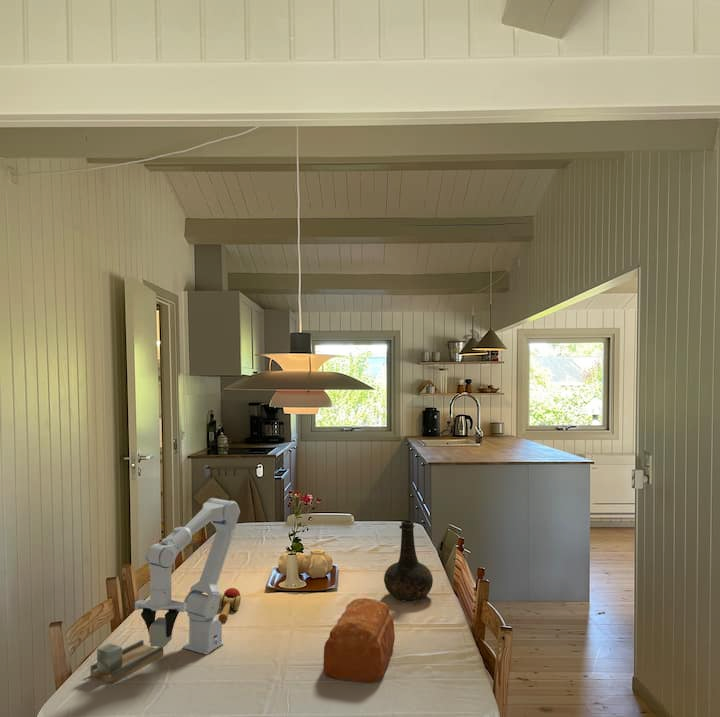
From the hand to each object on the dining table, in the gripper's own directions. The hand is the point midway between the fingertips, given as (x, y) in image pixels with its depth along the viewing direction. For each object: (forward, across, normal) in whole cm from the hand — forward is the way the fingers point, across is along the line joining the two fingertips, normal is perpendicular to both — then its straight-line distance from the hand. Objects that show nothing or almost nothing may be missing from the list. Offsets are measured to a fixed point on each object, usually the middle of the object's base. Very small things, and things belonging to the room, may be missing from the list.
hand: (160, 635), depth 175 cm
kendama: (+9, +6, +40) cm, 42 cm away
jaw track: (+9, -10, 0) cm, 13 cm away
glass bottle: (+9, +68, +61) cm, 92 cm away
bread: (+9, +56, +11) cm, 58 cm away
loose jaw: (+2, 0, 0) cm, 2 cm away
